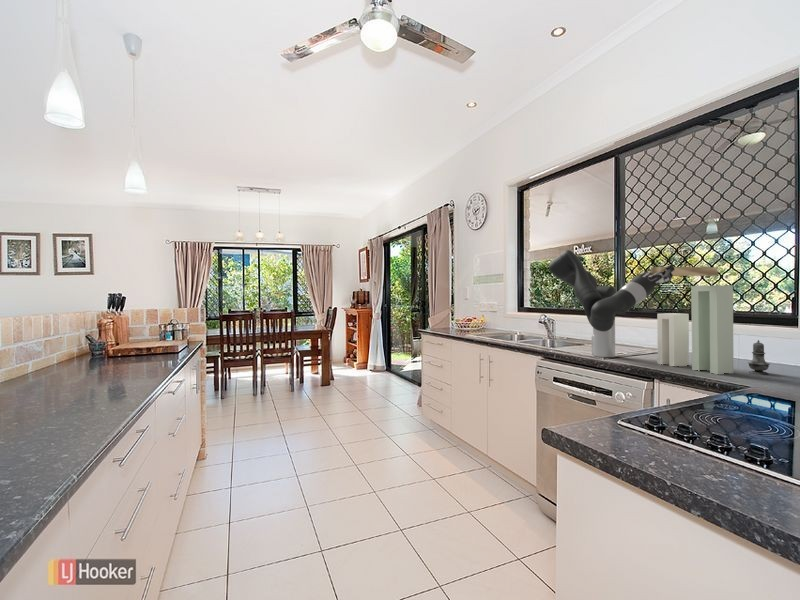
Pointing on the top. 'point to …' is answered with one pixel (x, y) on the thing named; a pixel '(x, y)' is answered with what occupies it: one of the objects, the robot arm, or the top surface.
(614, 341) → the robot arm
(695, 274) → the oak slat
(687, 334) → the cream shelf
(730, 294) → the sage stand
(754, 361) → the salt shaker
